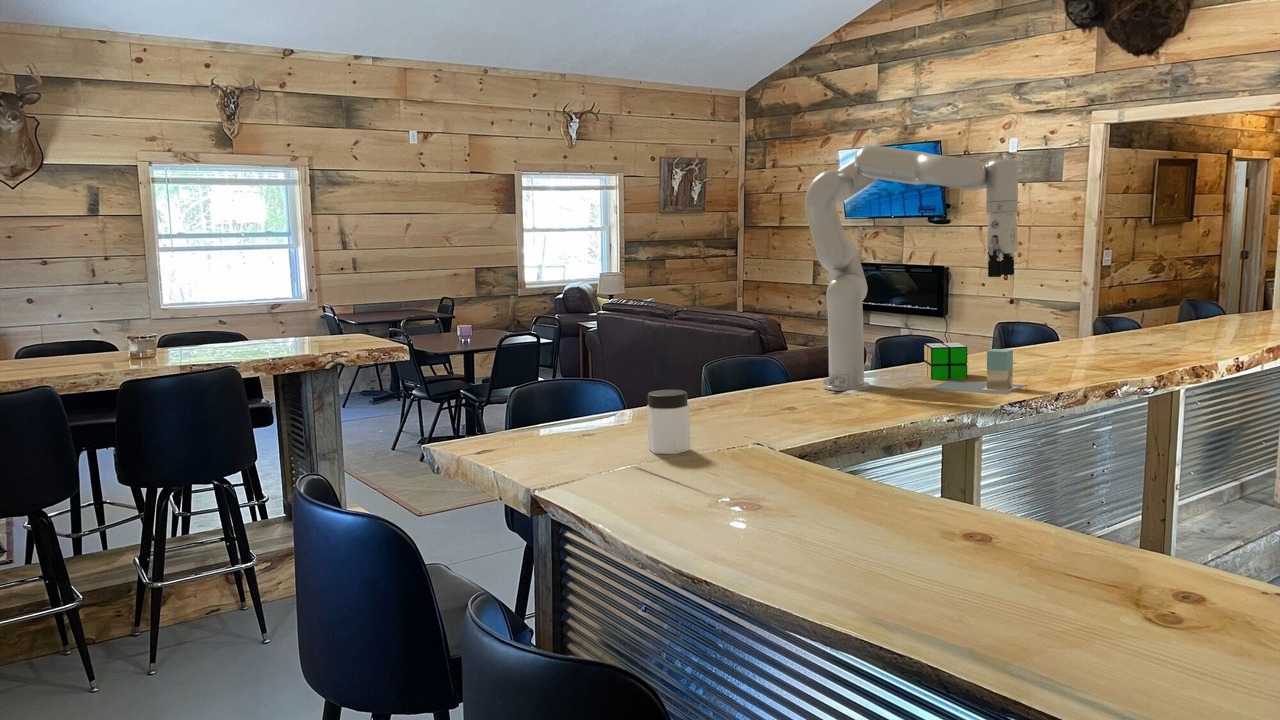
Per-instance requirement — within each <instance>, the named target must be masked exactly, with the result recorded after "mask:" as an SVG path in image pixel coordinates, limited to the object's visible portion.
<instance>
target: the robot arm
mask: <svg viewBox="0 0 1280 720" xmlns="http://www.w3.org/2000/svg"><path fill="white" fill-rule="evenodd" d="M1018 163H1019V162H1017V160H1015V159H1012V158H1007V159H1006V158H1004V159H993V160H991V161H989V162H985V161H984V162H982V161H981V162H980V161H978V160H976V159H970V158H963V157H957V156H949V155H940V154H935V153H934V154H933V153H929V152H924V151H917V150H909V149H902V148H896V147H895V148H894V147H888V146H881V145H875V144H873V145H870V144H869V145H865V146H863V147H861V148H860V149H859V150H858V151H857V152H856V155H855V156H854V159H852V160H851V161H850V162H848V163H847V164H845V165H843V166H842V167H841V168H839V169H828V170H825V171H822V172H821V173H820V174H818V175H817V176H816V177H815V178H814V179H813V180H812V182H810V184H809V186H808V187H807V190H806V193H805V197H804V209H805V216H806V219H807V224H808V228H809V231H810V235H811V238H812V242H813V244H814V248H815V252H816V256H817V260H818V262H819V265H820V266H821V267H823V268H824V269H825V270H827V273H828V275H829V279H830V282H829V283H828V286H827V289H826V291H825V292H826V293H825V294H826V295H825V296H826V297H825V298H826V299H825V300H826V301H825V302H826V312H827V331H828V335H827V336H828V340H827V341H828V378H824V379H823V381H822V382H823V388H824V389H825V390H828V391H832V392H833V391H834V392H835V391H836V392H837V391H838V392H849V391H852V390H856V389H857V390H859V389H865V388H868V387H870V385H871V384H870V382H866V381H865V361H864V360H865V358H864V357H865V356H864V355H865V354H864V353H865V352H864V351H865V346H864V345H865V344H864V342H865V341H864V310H863V302H864V300H865V298H867V295H868V290H869V289H868V284H867V280H866V279H867V278H866V276H865V273H864V269H863V266H862V263H861V260H860V257H859V254H858V250H857V248H856V245H855V244H854V242H852V240H851V239H849V238H848V237H846V234H845V231H844V229H843V226H842V222H841V221H842V220H841V218H840V215H839V213H838V212H839V211H838V209H837V203H842V202H844V201H847V200H849V199H850V198H852V197H853V196H855V195H857V194H858V193H860V192H861V191H863V190H864V189H866V188H867V187H869V186H871V185H872V184H873V183H875V182H876V181H878V180H885V181H890V182H897V183H903V184H909V185H934V186H942V187H949V188H954V189H955V188H956V189H962V190H964V191H967V192H971V191H972V192H973V191H978V190H983V189H984V190H985V189H986V191H985V194H986V195H985V197H986V199H985V200H986V201H985V203H986V204H985V205H986V206H985V208H986V210H985V211H986V212H985V214H986V215H985V216H988V223H987V239H986V244H987V256H988V257H987V277H988V278H1001V277H1002V276H1013V275H1014V274H1015V253H1016V252H1017V251H1018V249H1019V242H1018V241H1019V240H1018V239H1019V237H1018V223H1017V222H1018V221H1017V214H1018V212H1019V210H1018V209H1019V206H1018V204H1019V201H1018V200H1019V198H1018V197H1019V164H1018ZM1001 258H1002V259H1001Z"/></svg>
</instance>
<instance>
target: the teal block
mask: <svg viewBox="0 0 1280 720" xmlns="http://www.w3.org/2000/svg"><path fill="white" fill-rule="evenodd" d="M1013 367H1014V350H1013V349H1006V348H1005V349H1004V348H992V349H989V350H986V371H987V370H995V371H1008V370H1011V369H1013V370H1014V368H1013Z"/></svg>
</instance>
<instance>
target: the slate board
mask: <svg viewBox="0 0 1280 720" xmlns="http://www.w3.org/2000/svg"><path fill="white" fill-rule="evenodd" d="M1027 386H1028V385H1027V384H1013V386H1012V388H1010V389H1008V390H995V389H987V382H986V381H985V382H983V381H965V380H955V379H948V380H946V381H943V382H941V383H939V384H935V385H933V386H930V387H928V388H926V389H927V390H939V391H953V392H954V391H955V392H967V393H977V394H978V393H980V394H981V393H982V394H992V395H995V394H996V395H1005V396H1007V395H1010V394H1013V393H1014V392H1016V391H1018V390H1020V389H1023V388H1024V387H1027Z"/></svg>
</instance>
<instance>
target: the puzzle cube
mask: <svg viewBox="0 0 1280 720" xmlns="http://www.w3.org/2000/svg"><path fill="white" fill-rule="evenodd" d="M923 351H924V352H923V353H924V355H923V357H924V361H923V367H924V369H923V370H924V371H923V373H924V374H923V375H924V376H926V377H927V378H929V380H930V381H931V380H966V379H968V346H966V345H964V344H962V343H960V342H944V343H940V342H939V343H936V342H935V343H924V348H923Z"/></svg>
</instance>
